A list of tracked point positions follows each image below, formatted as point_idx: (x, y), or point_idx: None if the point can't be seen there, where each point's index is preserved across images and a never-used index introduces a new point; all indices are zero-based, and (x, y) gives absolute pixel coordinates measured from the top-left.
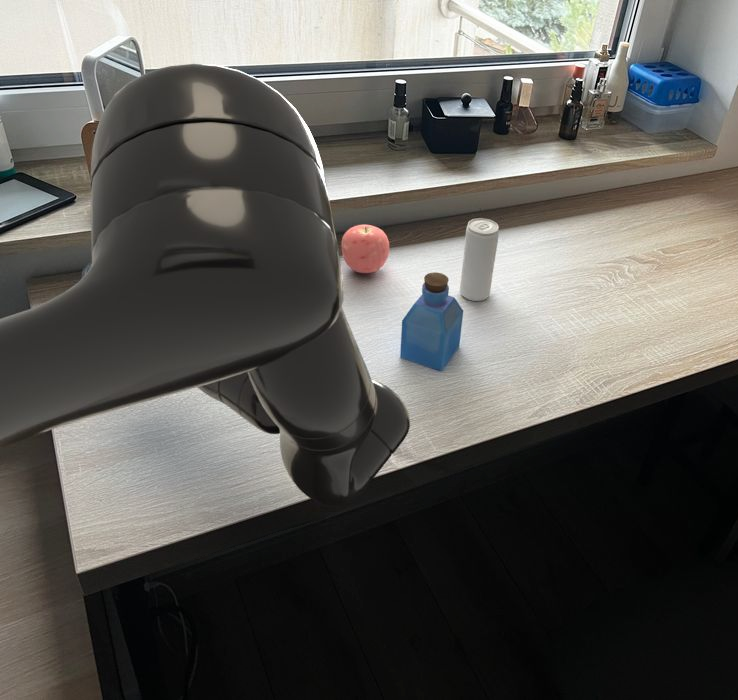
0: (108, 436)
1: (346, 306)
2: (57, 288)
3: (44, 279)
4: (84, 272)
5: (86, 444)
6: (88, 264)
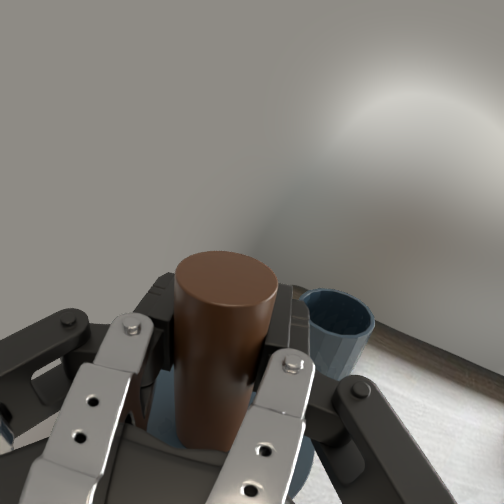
0: None
1: (499, 477)
2: (296, 297)
3: (295, 285)
4: (308, 292)
5: None
6: (319, 288)
